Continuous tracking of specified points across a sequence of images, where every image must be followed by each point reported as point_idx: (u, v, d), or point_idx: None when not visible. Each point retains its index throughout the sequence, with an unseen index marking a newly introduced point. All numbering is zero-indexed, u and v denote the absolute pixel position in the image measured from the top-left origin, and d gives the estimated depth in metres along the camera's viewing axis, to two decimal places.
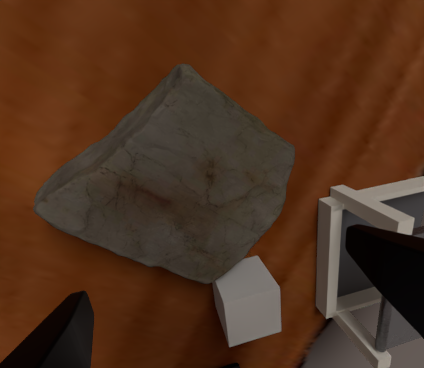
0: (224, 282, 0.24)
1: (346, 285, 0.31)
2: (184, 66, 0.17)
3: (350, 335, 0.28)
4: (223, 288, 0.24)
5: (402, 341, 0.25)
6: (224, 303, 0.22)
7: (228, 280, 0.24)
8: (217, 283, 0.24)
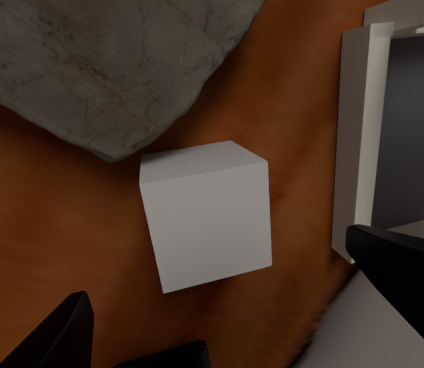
0: (156, 164, 0.12)
1: (382, 213, 0.19)
2: None
3: None
4: (150, 170, 0.11)
5: None
6: (141, 186, 0.10)
7: (165, 162, 0.12)
8: (142, 167, 0.12)
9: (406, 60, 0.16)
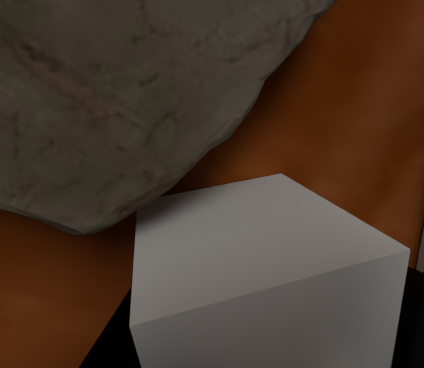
0: (165, 237, 0.06)
1: None
2: None
3: None
4: (155, 257, 0.06)
5: None
6: (135, 326, 0.04)
7: (183, 231, 0.06)
8: (139, 241, 0.06)
9: None
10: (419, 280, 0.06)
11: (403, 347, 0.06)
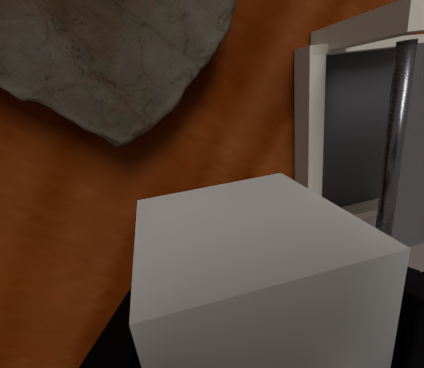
0: (165, 236, 0.06)
1: (335, 193, 0.24)
2: None
3: None
4: (154, 256, 0.06)
5: (413, 242, 0.17)
6: (135, 325, 0.04)
7: (183, 230, 0.06)
8: (139, 240, 0.06)
9: (346, 70, 0.20)
10: (419, 280, 0.06)
11: (403, 347, 0.06)
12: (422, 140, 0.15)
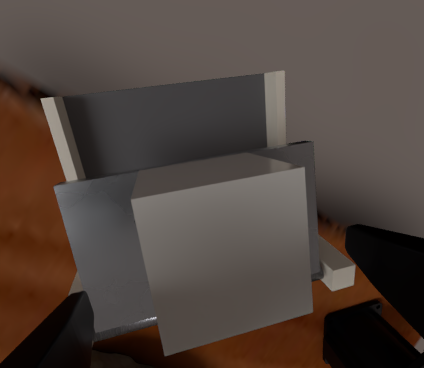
0: (156, 178, 0.09)
1: None
2: None
3: None
4: (148, 184, 0.09)
5: (314, 242, 0.15)
6: (134, 202, 0.07)
7: (168, 176, 0.10)
8: (138, 181, 0.09)
9: None
10: None
11: None
12: None
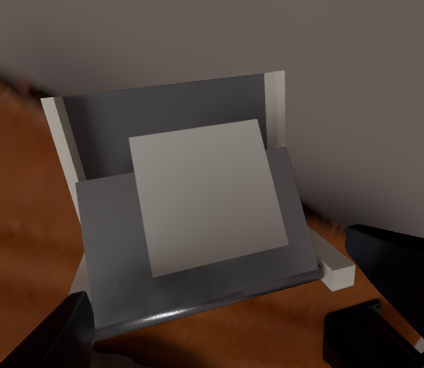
0: None
1: None
2: None
3: None
4: None
5: (306, 236, 0.15)
6: (131, 140, 0.10)
7: None
8: None
9: None
10: None
11: None
12: (191, 277, 0.14)
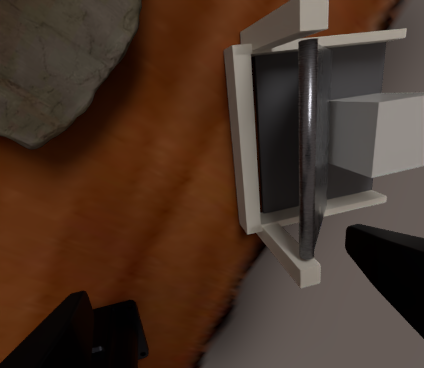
0: None
1: (279, 195, 0.23)
2: None
3: (275, 250, 0.20)
4: None
5: (317, 234, 0.19)
6: (378, 94, 0.22)
7: None
8: (353, 98, 0.22)
9: (281, 71, 0.20)
10: None
11: None
12: (318, 138, 0.16)
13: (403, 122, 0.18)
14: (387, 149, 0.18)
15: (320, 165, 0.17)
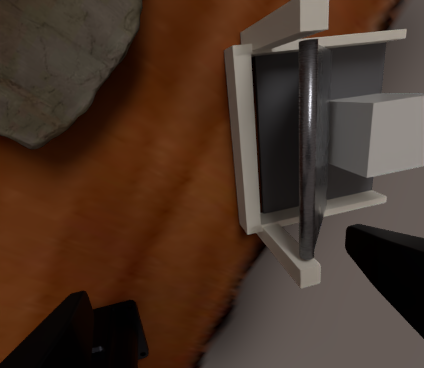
0: None
1: (280, 195, 0.23)
2: None
3: (275, 251, 0.20)
4: None
5: (317, 234, 0.19)
6: (377, 94, 0.22)
7: None
8: (352, 98, 0.22)
9: (281, 71, 0.20)
10: None
11: None
12: (318, 139, 0.16)
13: (399, 123, 0.18)
14: (383, 149, 0.18)
15: (320, 165, 0.17)
